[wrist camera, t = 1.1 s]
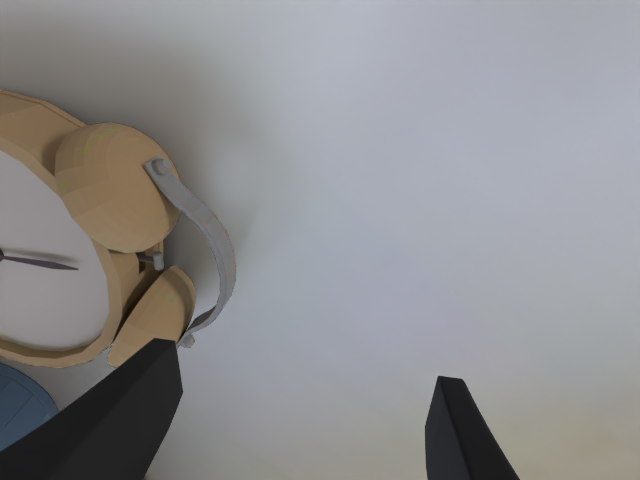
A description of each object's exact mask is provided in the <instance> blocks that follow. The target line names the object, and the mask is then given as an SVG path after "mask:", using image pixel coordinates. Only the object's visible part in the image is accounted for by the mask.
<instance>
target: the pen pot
mask: <svg viewBox="0 0 640 480" xmlns="http://www.w3.org/2000/svg"><path fill="white" fill-rule="evenodd" d="M58 413H59V412H58V409H57V407H56V405H55V403H54V402H53V400H52V399H51V397H50V396H49V395H48V394H47V393H46V392H45V391H44V390H43V389H42V388H41V387H40V386H39V385H38V384H37V383H35V382H34V381H33V380H32V379H30V378H29V377H27V376H26V375H24V374H22V373H20V372H19V371H17V370H15V369H13V368H10V367H8V366H6V365H3V364H0V451H2V450H3V449H5V448H7V447H8V446H10V445H11V444H13V443H15V442H16V441H18V440H19V439H21V438H23V437H24V436H26V435H27V434H29V433H30V432H32V431H33V430H35V429H36V428H38V427H39V426H41V425H42V424H44V423H45V422H47V421H48V420H49V419H51V418H52V417H54V416H55V415H56V414H58Z"/></svg>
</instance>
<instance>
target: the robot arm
mask: <svg viewBox="0 0 640 480" xmlns="http://www.w3.org/2000/svg"><path fill="white" fill-rule="evenodd" d="M182 394H183V388H182V382H181V375H180V369H179V362H178V356H177V349H176V342H175V340H167V339H160V338H153V339H152V340H151V341H150V342H148V343H147V344H146V345H145V346H143V347H142V348H141V349H140V350H138V351H137V352H136V353H135V354H134V355H132V356H131V357H130V358H129V359H127V360H126V361H125V362H124V363H123V364H121V365H120V366H119V367H118V368H116V369H115V370H114V371H113V372H111V373H110V374H109V375H108V376H106V377H105V378H104V379H103V380H101V381H100V382H99V383H98V384H96V385H95V386H94V387H92V388H91V389H90V390H89V391H87V392H86V393H85V394H84V395H82V396H81V397H80V398H78V399H77V400H76V401H74V402H73V403H71V404H70V405H69V406H67V407H66V408H65V409H63V410H62V411H60V412H59V413H58V414H56V415H55V416H54V417H52V418H51V419H49V420H48V421H47V422H45V423H44V424H42V425H41V426H39V427H38V428H36V429H35V430H33V431H32V432H30V433H29V434H27V435H26V436H24V437H23V438H21V439H19V440H18V441H16V442H15V443H13V444H11V445H10V446H8V447H7V448H5V449H3V450H2V451H0V480H142V479H143V477H144V475H145V473H146V472H147V470H148V468H149V466H150V464H151V462H152V460H153V458H154V456H155V455H156V453H157V451H158V449H159V447H160V445H161V443H162V441H163V439H164V437H165V435H166V433H167V431H168V429H169V427H170V425H171V422H172V420H173V417H174V415H175V412H176V410H177V407H178V404H179V402H180V399H181V396H182ZM425 450H426V469H427V477H428V480H520V479H519V477H518V476H517V474H516V473H515V471H514V470H513V468H512V466H511V465H510V463H509V462H508V460H507V458H506V457H505V455H504V453H503V452H502V450H501V448H500V447H499V445H498V443H497V442H496V440H495V438H494V436H493V435H492V433H491V431H490V429H489V428H488V426H487V424H486V422H485V420H484V419H483V417H482V415H481V413H480V411H479V409H478V407H477V406H476V404H475V402H474V400H473V398H472V396H471V394H470V392H469V390H468V388H467V386H466V384H465V382H464V381H463V380H462V379H458V378H451V377H444V376H438V378H437V382H436V386H435V390H434V394H433V398H432V402H431V405H430V409H429V413H428V417H427V421H426V425H425Z"/></svg>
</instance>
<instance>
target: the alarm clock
mask: <svg viewBox="0 0 640 480" xmlns="http://www.w3.org/2000/svg"><path fill="white" fill-rule="evenodd" d="M180 210H181V211H182V212H183V213H184V214H186V215H187V216H188V217H189V218H190V219H191V220H192V221H193V222H194V223H195V224H196V225H197V227H198V228H199V229H200V230H201V232H202V233H203V235H204V236H205V238H206V239H207V241H208V242H209V244H210V246H211V249H212V251H213V254H214V256H215V258H216V261H217V265H218V270H219V275H220V294H219V298H218V301H217V305H216V306H215V307H213V308H212V309H211V310H209V311H207V312H205V313H203V314H202V315H200V316H199V317H197V318H196V319H195V320H194V321H193V323H192V324H191V325H190V327H189V328H188V326H189V323H190V321H191V318H192V315H193V312H194V308H195V301H196V295H195V289H194V286H193V283H192V282H191V280H190V279H189V277H188V276H187V275H186V274H185V273H184V272H183V271H182V270H180V269H179V268H178V267H176V266H175V265H173V266H171V267H169V268H168V269H167V270H166V271H165V272H164V273H163V268H164V262H163V239H165V238H166V237H167V236H168V234H169V233H170V232H171V230H172V229H173V227H174V226H175V224H176V223H177V222H178V218H179V214H180ZM235 281H236V261H235V256H234V251H233V247H232V244H231V242H230V239H229V237H228V234H227V232H226V230H225V228H224V227H223V225H222V224H221V222H220V221H219V219H218V218H217V216H216V215H215V214H214V213H213V212H212V211H211V210H210V209H209V208H208V207H207V205H206V204H205V203H204V202H202V201H201V200H200V199H198V198H197V197H196V196H195V195H193V194H192V193H191V192H190V191H189V190H188V189H187V188H186V187H185V186H184V185H183V184H182V183H181V182H180V180H179V177H178V173H177V171H176V169H175V167H174V165H173V163H172V161H171V160H170V158H169V157H168V156H167V154H166V153H165V151H164V150H163V149H162V148H161V147H160V146H159V145H158V144H157V143H156V142H155V141H153V140H152V139H151V138H150V137H149V136H147V135H145V134H143V133H142V132H140V131H138V130H137V129H135V128H132V127H130V126H126V125H122V124H118V123H110V122H107V123H100V124H93V125H86V124H84V123H83V122H81V121H79V120H78V119H76V118H74V117H73V116H71V115H69V114H68V113H66V112H64V111H62V110H61V109H59V108H57V107H56V106H54V105H52V104H51V103H49V102H47V101H44V100H40V99H36V98H33V97H29V96H25V95H21V94H17V93H14V92H10V91H6V90H1V91H0V356H2V357H5V358H8V359H11V360H15V361H18V362H21V363H24V364H27V365H30V366H43V367H56V368H65V367H69V366H73V365H77V364H81V363H85V362H89V361H92V360H93V359H94V358H95V357H96V356H98V355H99V354H100V353H101V352H102V351H104V350H105V349H106V348H107V347H108V346H110V345H111V344H112V343H113V342H114V343H113V345H112V347H111V349H110V351H109V355H108V358H107V363H108V364H109V365H111V366H113V367H115V368H118V367H119V366H120V365H121V364H123V363H124V362H125V361H126V360H127V359H129V358H130V357H131V356H132V355H134V354H135V353H136V352H137V351H138V350H140V349H141V348H142V347H143V346H145V345H146V344H147V343H148V342H150V341H151V340H152V339H153V338H160V339H167V340H175V342H176V344H177V343H178V344H177V346H176V349H178V347H179V346H180V345H181V346H183V347H184V348H190V347H191V346H192V345H193V343H194V342H195V340H194V338H193V336H192V335H191V333H193V332H196V331H198V330H200V329H202V328H204V327H206V326H208V325H209V324H210V323H211V322H213V321H214V320H215V319H216V318H217V316H218V315H219V313H220V312H221V311H222V309H223V308H224V306H225V305H226V303H227V301H228V300H229V298H230V297H231V295H232V292H233V288H234V285H235ZM187 328H188V330H187ZM186 330H187V331H186ZM184 333H185V334H184Z"/></svg>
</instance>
